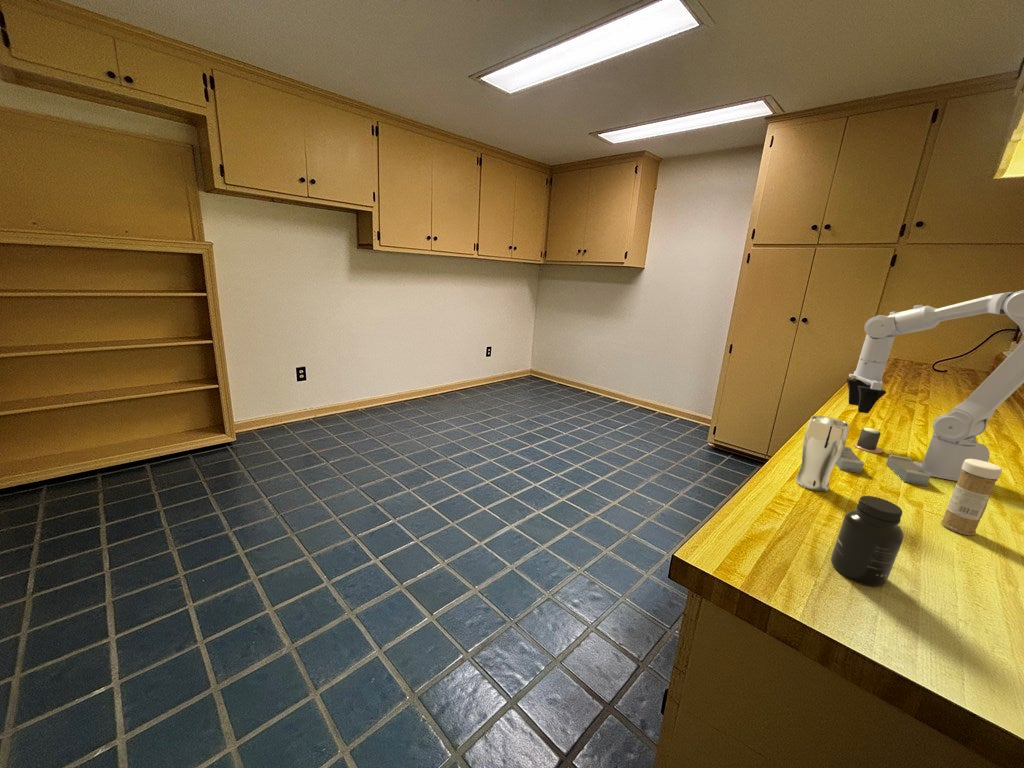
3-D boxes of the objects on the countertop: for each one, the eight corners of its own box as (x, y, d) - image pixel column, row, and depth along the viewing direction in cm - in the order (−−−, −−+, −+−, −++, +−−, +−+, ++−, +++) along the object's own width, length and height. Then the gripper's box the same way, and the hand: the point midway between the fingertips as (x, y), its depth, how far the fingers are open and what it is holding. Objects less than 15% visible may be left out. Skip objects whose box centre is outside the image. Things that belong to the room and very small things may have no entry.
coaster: (877, 446, 113) (877, 445, 113) (886, 455, 108) (886, 453, 108) (850, 442, 116) (851, 441, 115) (858, 450, 110) (858, 448, 110)
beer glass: (826, 482, 91) (845, 419, 87) (834, 496, 85) (855, 429, 81) (790, 474, 94) (806, 412, 90) (795, 487, 88) (813, 422, 84)
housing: (906, 468, 101) (909, 458, 100) (926, 486, 92) (930, 475, 91) (828, 453, 107) (831, 443, 106) (840, 469, 98) (843, 459, 97)
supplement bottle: (818, 556, 66) (839, 491, 63) (857, 556, 67) (879, 491, 63) (856, 589, 59) (881, 517, 56) (899, 588, 60) (926, 517, 57)
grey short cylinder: (872, 445, 113) (877, 428, 112) (878, 451, 109) (883, 433, 108) (854, 442, 114) (859, 426, 113) (859, 448, 111) (865, 430, 109)
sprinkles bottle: (977, 531, 76) (1005, 466, 72) (971, 539, 73) (1000, 471, 69) (942, 518, 79) (968, 455, 76) (936, 525, 77) (962, 460, 73)
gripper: (845, 354, 118) (832, 399, 121) (864, 363, 105) (849, 413, 109) (876, 357, 115) (862, 403, 119) (899, 367, 102) (882, 418, 106)
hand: (858, 408), depth 113 cm, fingers open, 7 cm apart
